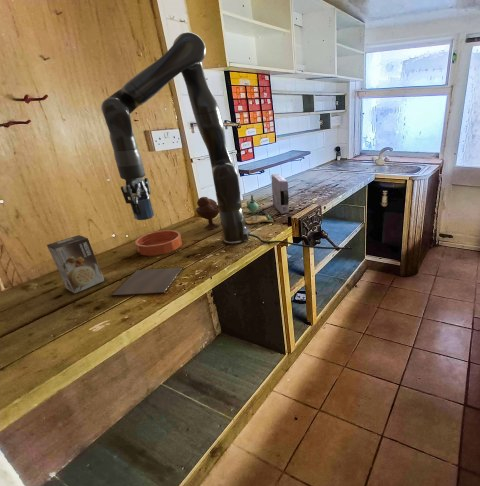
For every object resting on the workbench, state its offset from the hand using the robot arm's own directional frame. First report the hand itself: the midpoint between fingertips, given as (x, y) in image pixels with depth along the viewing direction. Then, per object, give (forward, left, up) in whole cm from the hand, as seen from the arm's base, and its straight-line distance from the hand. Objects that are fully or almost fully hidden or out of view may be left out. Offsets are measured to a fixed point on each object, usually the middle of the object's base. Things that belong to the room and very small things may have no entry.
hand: (142, 210), depth 112 cm
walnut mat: (-5, +17, -20) cm, 26 cm away
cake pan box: (-44, -56, -20) cm, 74 cm away
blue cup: (0, 0, -3) cm, 3 cm away
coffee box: (+16, +17, -20) cm, 31 cm away
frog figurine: (-33, -37, -20) cm, 54 cm away
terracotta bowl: (+3, -11, -20) cm, 23 cm away
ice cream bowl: (-12, -33, -20) cm, 41 cm away
